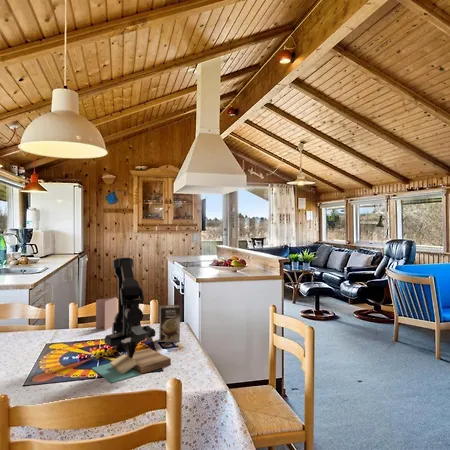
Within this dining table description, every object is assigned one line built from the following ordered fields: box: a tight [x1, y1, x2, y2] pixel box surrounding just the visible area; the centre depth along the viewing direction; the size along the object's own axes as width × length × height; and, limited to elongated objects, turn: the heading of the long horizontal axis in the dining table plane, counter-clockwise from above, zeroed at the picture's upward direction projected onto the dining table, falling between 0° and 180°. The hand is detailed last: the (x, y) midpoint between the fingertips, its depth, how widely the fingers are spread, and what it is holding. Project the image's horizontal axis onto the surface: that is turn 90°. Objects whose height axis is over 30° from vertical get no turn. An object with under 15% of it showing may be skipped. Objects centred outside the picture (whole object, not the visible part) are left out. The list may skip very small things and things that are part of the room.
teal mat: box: [91, 362, 141, 384], centre depth 139 cm, size 17×11×1 cm, turn 42°
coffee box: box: [158, 304, 181, 343], centre depth 176 cm, size 9×6×16 cm
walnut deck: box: [124, 347, 172, 375], centre depth 147 cm, size 16×13×2 cm
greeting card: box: [95, 296, 118, 331], centre depth 197 cm, size 11×7×15 cm, turn 130°
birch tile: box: [109, 353, 137, 374], centre depth 140 cm, size 9×6×2 cm, turn 42°
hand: (130, 358), depth 143 cm, fingers closed
